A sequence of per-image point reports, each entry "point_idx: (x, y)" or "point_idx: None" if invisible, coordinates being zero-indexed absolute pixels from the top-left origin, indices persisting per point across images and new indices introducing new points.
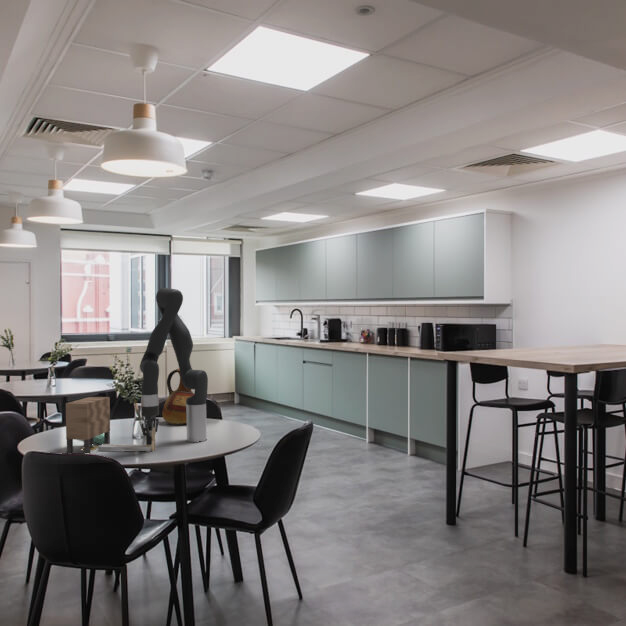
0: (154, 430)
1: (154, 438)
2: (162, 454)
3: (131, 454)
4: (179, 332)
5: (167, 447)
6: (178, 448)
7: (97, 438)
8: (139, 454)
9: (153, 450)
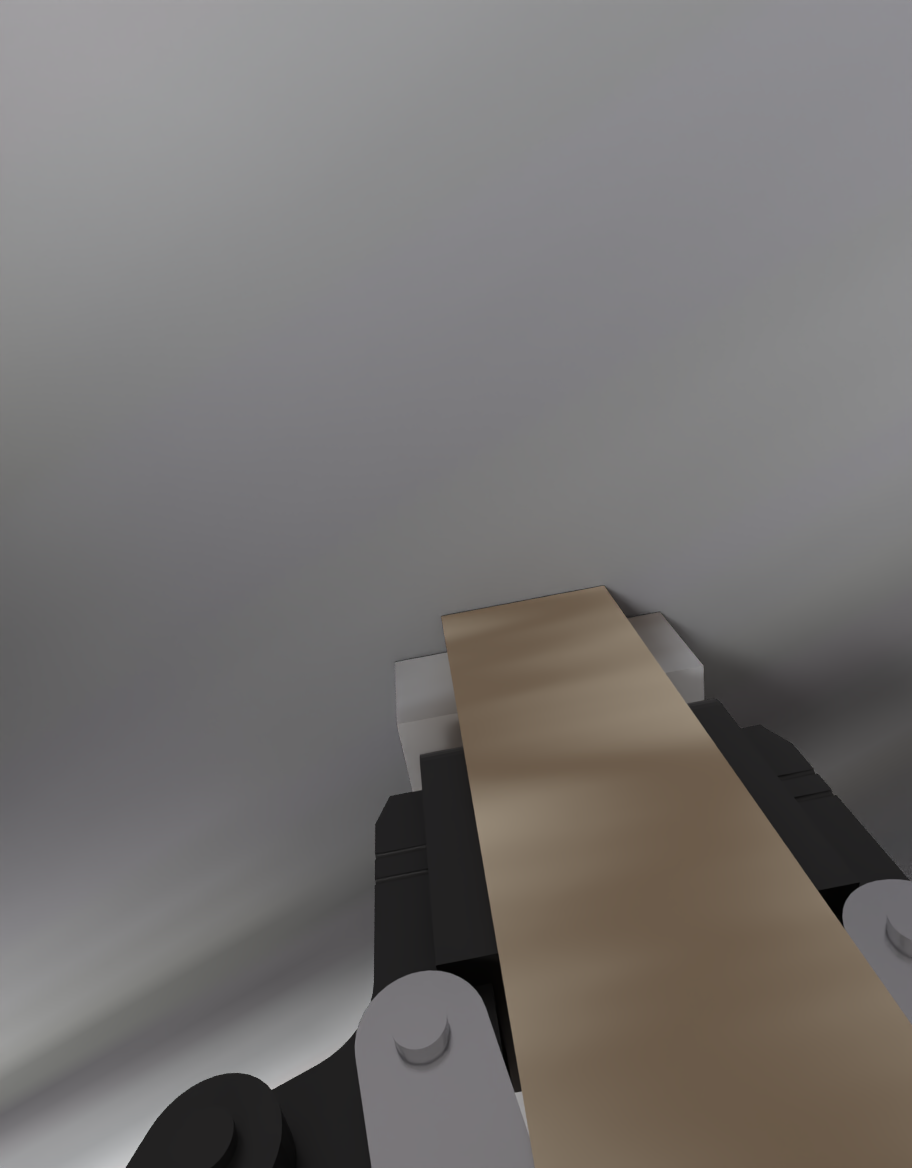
0: (622, 1144)
1: (548, 803)
2: (885, 131)
3: (886, 820)
4: None
5: (62, 495)
6: (11, 49)
7: None
8: (886, 691)
9: (558, 601)
